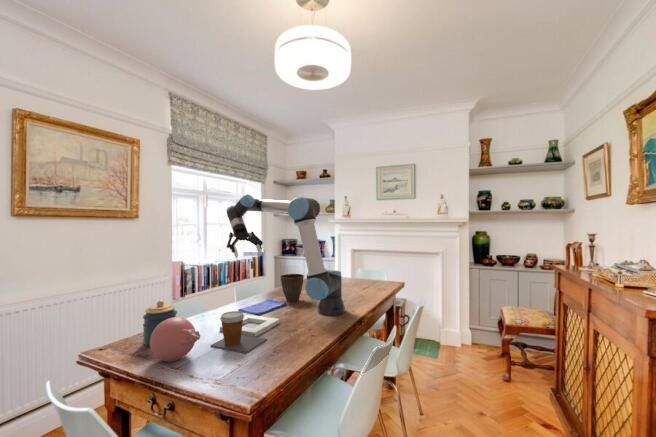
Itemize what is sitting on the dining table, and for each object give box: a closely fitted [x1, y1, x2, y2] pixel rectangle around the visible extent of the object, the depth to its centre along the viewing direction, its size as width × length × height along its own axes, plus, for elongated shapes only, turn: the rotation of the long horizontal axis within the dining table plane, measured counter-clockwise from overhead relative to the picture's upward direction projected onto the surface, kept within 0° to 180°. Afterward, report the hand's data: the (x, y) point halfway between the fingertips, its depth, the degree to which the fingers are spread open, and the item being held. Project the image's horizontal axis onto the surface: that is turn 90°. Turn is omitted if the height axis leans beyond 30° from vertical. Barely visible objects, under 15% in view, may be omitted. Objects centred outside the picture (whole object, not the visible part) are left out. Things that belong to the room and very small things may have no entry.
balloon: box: [149, 316, 201, 362], centre depth 114 cm, size 15×20×15 cm
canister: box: [142, 300, 178, 348], centre depth 132 cm, size 13×13×18 cm
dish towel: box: [237, 299, 288, 316], centre depth 180 cm, size 17×24×3 cm
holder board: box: [219, 314, 280, 337], centre depth 148 cm, size 20×20×2 cm
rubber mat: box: [210, 335, 268, 354], centre depth 129 cm, size 18×14×1 cm
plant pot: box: [279, 273, 305, 303], centre depth 195 cm, size 15×15×16 cm
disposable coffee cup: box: [219, 310, 245, 346], centre depth 127 cm, size 10×10×12 cm
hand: (249, 255), depth 165 cm, fingers open, 13 cm apart
